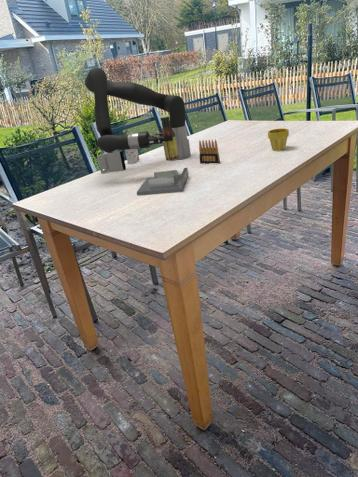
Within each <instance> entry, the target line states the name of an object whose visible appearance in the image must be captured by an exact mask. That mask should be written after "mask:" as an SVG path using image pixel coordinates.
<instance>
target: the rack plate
mask: <svg viewBox="0 0 358 477" xmlns="http://www.w3.org/2000/svg"><path fill="white" fill-rule="evenodd" d="M188 169H189V168H188V167H184V168H183V170H182V172H181V174H179V171H178V169H174V170H173V169H172V170H161V171H154V172H153V175H154V176H153V177H146V179H145V180H144V182H143V183H142V184H141V186H140V187H139V188H138V190H137V191H136V196H145V195H157V194H168V193H179V192H180V193H181V192H184V189H185V187H186V185H187V182H188V179H189V177H190V176H189V170H188Z"/></svg>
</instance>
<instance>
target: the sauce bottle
mask: <svg viewBox="0 0 358 477" xmlns="http://www.w3.org/2000/svg"><path fill="white" fill-rule="evenodd" d="M160 122H161V127H162V128H161V130H160V131H161V132H160V133H161V135H162V136H163V137H165V136H172V137H173V141H167V142H164V143H162V146H163V151H164V156H165V160H166V161H167V162H169V161H176V160H179V159H178V150H177V144H176V139H175V134H174V131H173V130H172V128H171V126H170V116H169V115H163V116H161V117H160Z"/></svg>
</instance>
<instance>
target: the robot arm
mask: <svg viewBox="0 0 358 477" xmlns="http://www.w3.org/2000/svg"><path fill="white" fill-rule="evenodd" d="M84 85H85V87H86V89H87V90H88V91H90V92H92V93H93V95H94V120H95V126H96V131H97V132H98V134H99V137H98V139H97V140H96V141H97V142H96V145H97V148H98V149H100V150H101V151H102V152H104V153H112V152H115V151H116V150H119V151H125V150H128V149H137V150H142V149H149V148H151V147H152V145H153V146H154V145H160V144H162V145H163V143H164V142H167V141H173V137H172V136H165V137H163V136H162V135H161V132H159V133H158V132H157V133H156V132H155V133H153V134H152V135H150V133H149V131H139V132H132V133H128V134H121V135H116V134H114V131H113V129H112V122H111V117H110V111H109V110H110V109H109V102H108V96H109V97H114V98H117V99H120V100H121V99H122V100H125V101H126V102H128V101H129V102H131V103H134V104H138V105H142V106H147V107H149V106H150V107H154V108H157V109H160V110H162V111H165V112H166V113H168V116H169V118H170V119H169V121H170V126H171V128H172V130H173V131H174V134H175V139H176V144H177V150H178V159H177V160H184V159H188V158H189V157H192V155H191V147H190V139H189V138H188V134H187V128H186V120H187V117H186V116H187V115H186V114H187V113H186V107H185V101H184V99H183V97H181V96H180V95H177V94H175V95H173V94H165V93H161V92H158V91H155V90H154V89H151V88H149V87H148V86H145V85H142V84H139V83H136V82H131V81H121V82H116V81H115V82H114V81H111V80H108V76H107V73H106V71H105V70H103V68H101V67H97V66H95V67H92V68H91V69H90V70H89V71H88V73H87V75H86V78H85V79H84Z"/></svg>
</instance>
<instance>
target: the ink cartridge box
mask: <svg viewBox="0 0 358 477" xmlns="http://www.w3.org/2000/svg"><path fill="white" fill-rule="evenodd" d="M138 150H139V149H128V150H124V153H125V157H126V161H127V164H128V165H129V164H130V165H131V164H136V163H138V161H139V160H140V157H139V156H140V155H139V151H138Z"/></svg>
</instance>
